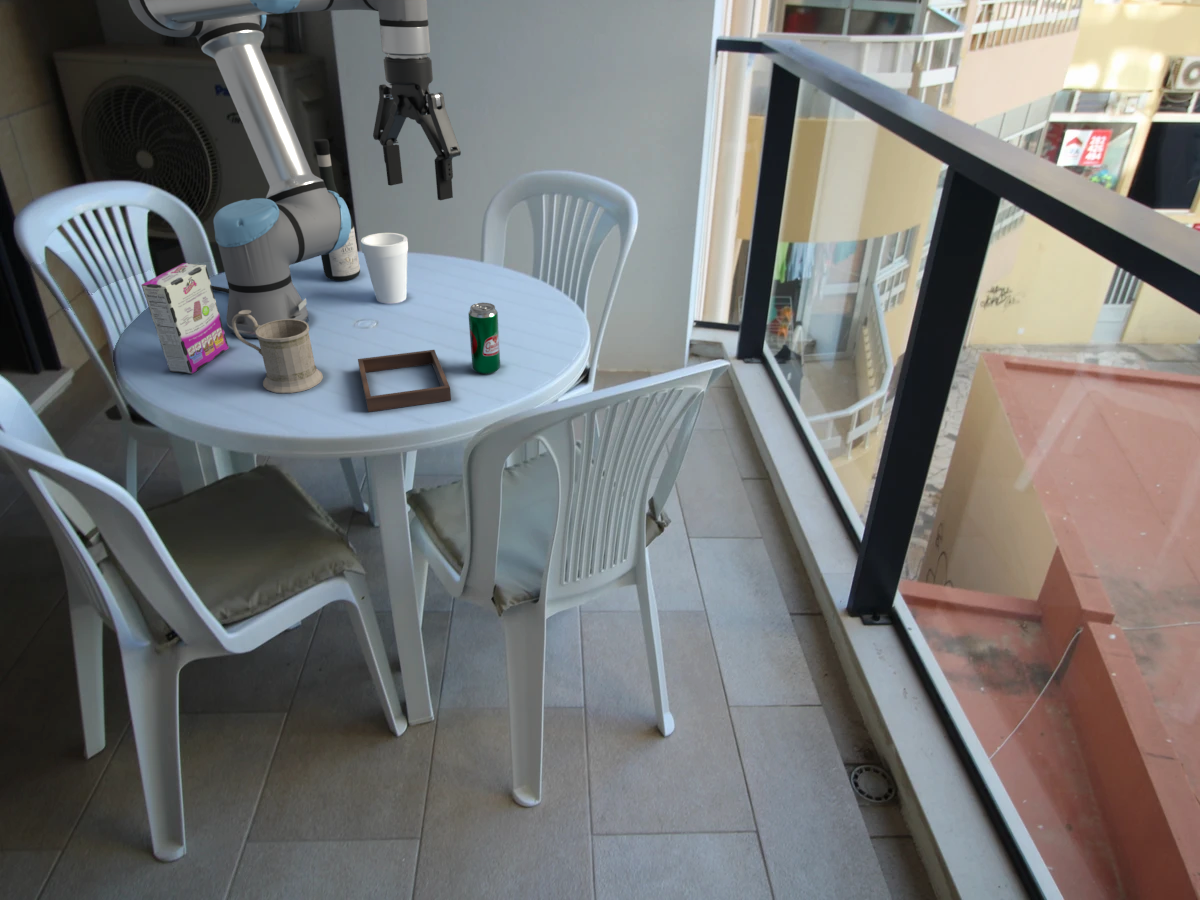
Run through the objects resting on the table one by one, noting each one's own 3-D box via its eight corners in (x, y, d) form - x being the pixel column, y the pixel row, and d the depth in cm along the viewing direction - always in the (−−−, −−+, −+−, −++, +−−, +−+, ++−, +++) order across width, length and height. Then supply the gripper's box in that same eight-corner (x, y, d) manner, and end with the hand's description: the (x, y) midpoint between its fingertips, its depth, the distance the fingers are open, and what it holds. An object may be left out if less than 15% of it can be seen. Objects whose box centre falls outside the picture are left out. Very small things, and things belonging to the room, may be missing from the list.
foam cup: (422, 296, 170) (416, 238, 163) (391, 309, 163) (384, 249, 157) (391, 287, 174) (384, 230, 167) (360, 300, 168) (351, 240, 161)
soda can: (488, 378, 138) (484, 314, 131) (466, 370, 140) (461, 308, 134) (506, 367, 142) (503, 305, 135) (484, 360, 144) (480, 299, 137)
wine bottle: (367, 276, 180) (347, 140, 164) (336, 285, 175) (313, 145, 159) (349, 268, 184) (327, 134, 168) (318, 276, 180) (293, 139, 164)
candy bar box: (206, 346, 146) (182, 261, 138) (230, 349, 146) (208, 264, 137) (166, 372, 137) (139, 283, 128) (192, 375, 136) (166, 286, 128)
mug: (333, 371, 139) (321, 308, 132) (303, 396, 131) (289, 330, 124) (261, 361, 141) (246, 299, 135) (227, 385, 133) (210, 320, 127)
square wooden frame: (359, 371, 139) (357, 358, 138) (435, 361, 143) (434, 349, 142) (368, 412, 127) (366, 398, 125) (451, 400, 131) (450, 387, 129)
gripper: (477, 61, 120) (484, 201, 131) (378, 47, 133) (392, 174, 144) (439, 65, 115) (450, 209, 126) (341, 49, 128) (358, 181, 140)
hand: (419, 191), depth 135 cm, fingers open, 13 cm apart
